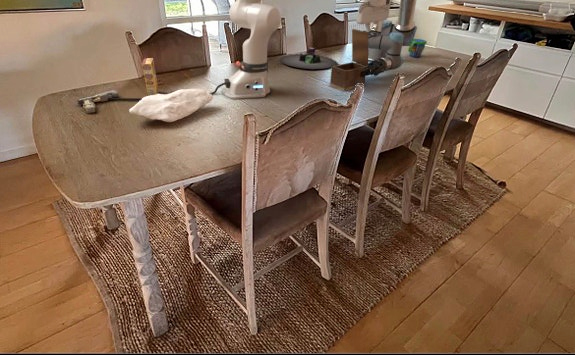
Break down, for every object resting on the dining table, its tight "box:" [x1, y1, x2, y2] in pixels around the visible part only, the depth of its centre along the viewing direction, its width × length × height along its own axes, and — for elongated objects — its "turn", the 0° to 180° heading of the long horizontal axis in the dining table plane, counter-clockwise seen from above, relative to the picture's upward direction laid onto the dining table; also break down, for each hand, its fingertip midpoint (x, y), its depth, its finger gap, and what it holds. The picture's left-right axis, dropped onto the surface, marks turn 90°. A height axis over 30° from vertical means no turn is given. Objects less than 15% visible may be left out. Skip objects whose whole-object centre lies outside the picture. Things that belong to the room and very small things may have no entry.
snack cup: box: [407, 38, 428, 58], centre depth 243 cm, size 16×10×10 cm
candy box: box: [141, 57, 160, 96], centre depth 163 cm, size 9×4×15 cm, turn 13°
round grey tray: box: [279, 46, 338, 70], centre depth 221 cm, size 35×35×9 cm
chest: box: [329, 61, 367, 92], centre depth 186 cm, size 16×10×10 cm, turn 129°
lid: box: [351, 28, 377, 66], centre depth 183 cm, size 16×10×8 cm
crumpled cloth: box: [129, 88, 214, 123], centre depth 147 cm, size 24×35×9 cm
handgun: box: [76, 89, 120, 114], centre depth 155 cm, size 3×18×15 cm
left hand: (370, 31), depth 182 cm, fingers open, 3 cm apart
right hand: (353, 71), depth 187 cm, fingers closed on chest, 10 cm apart
